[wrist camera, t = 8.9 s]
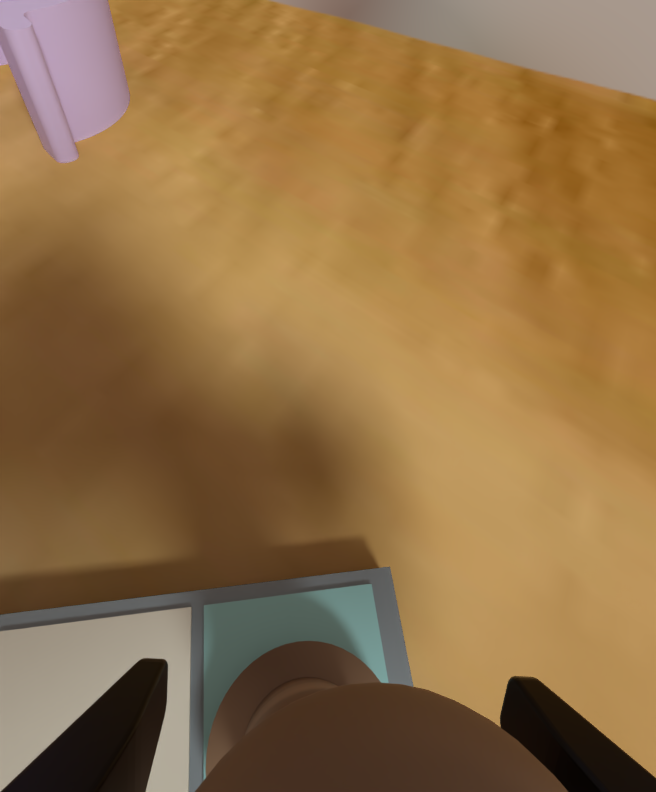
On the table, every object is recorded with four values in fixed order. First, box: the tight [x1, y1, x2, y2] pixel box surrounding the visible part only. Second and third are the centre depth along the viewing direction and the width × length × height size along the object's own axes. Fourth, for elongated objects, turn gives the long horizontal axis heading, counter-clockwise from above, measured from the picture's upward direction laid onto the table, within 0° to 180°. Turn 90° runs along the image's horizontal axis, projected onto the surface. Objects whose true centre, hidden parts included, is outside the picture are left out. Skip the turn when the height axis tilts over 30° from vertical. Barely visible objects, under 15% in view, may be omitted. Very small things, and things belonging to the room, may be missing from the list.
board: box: [0, 567, 413, 792], centre depth 13 cm, size 19×9×1 cm, turn 98°
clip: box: [0, 0, 130, 163], centre depth 30 cm, size 20×12×7 cm, turn 6°
